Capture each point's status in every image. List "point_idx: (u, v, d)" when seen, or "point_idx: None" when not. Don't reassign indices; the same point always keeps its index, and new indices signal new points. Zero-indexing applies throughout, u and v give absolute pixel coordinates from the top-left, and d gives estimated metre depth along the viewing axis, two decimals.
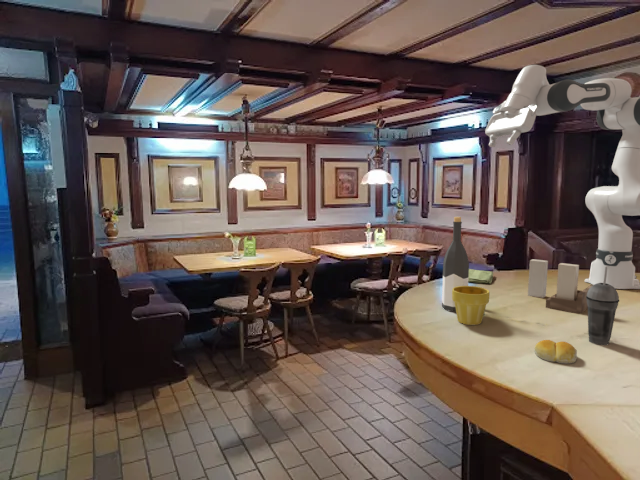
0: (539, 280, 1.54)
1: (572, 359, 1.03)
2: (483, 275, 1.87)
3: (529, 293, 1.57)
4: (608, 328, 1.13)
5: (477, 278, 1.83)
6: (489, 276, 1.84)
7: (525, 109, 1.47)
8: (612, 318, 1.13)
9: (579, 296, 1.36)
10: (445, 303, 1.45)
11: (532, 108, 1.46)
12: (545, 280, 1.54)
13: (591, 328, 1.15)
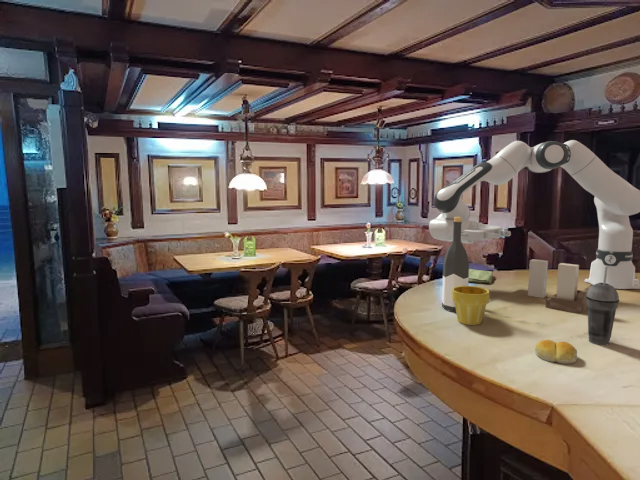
0: (539, 280, 1.54)
1: (572, 359, 1.03)
2: (483, 275, 1.87)
3: (529, 293, 1.57)
4: (608, 328, 1.13)
5: (477, 278, 1.83)
6: (489, 276, 1.85)
7: None
8: (612, 318, 1.13)
9: (579, 296, 1.36)
10: (445, 303, 1.45)
11: (462, 235, 1.65)
12: (545, 280, 1.54)
13: (591, 328, 1.15)
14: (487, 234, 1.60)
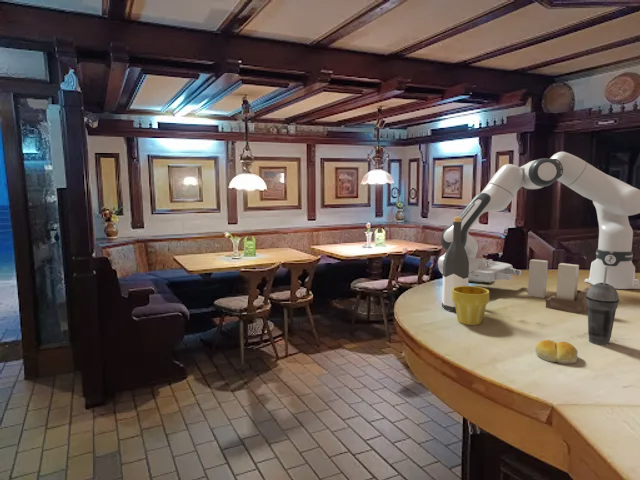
0: (539, 280, 1.54)
1: (573, 359, 1.03)
2: None
3: (529, 293, 1.57)
4: (608, 328, 1.13)
5: None
6: None
7: None
8: (612, 318, 1.13)
9: (579, 296, 1.36)
10: (445, 303, 1.45)
11: None
12: (545, 280, 1.54)
13: (591, 328, 1.15)
14: (498, 275, 1.59)
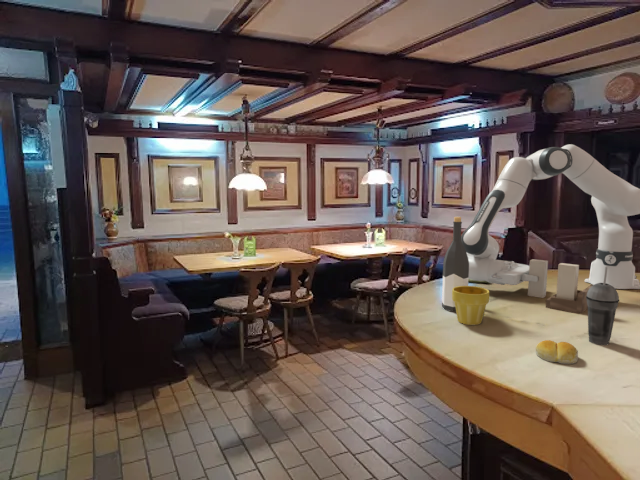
0: (539, 280, 1.54)
1: (573, 359, 1.02)
2: None
3: (529, 293, 1.57)
4: (608, 328, 1.13)
5: None
6: None
7: None
8: (612, 318, 1.13)
9: (579, 296, 1.36)
10: (445, 303, 1.45)
11: None
12: (545, 280, 1.54)
13: (591, 328, 1.15)
14: (525, 276, 1.55)
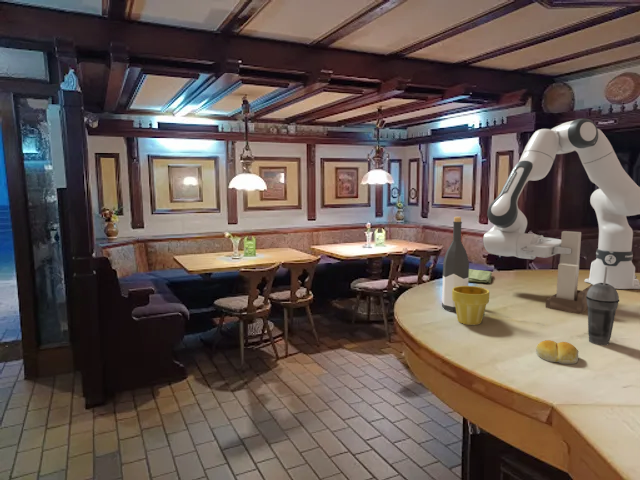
0: (572, 252, 1.47)
1: (574, 359, 1.02)
2: (482, 275, 1.87)
3: None
4: (608, 328, 1.13)
5: (476, 278, 1.84)
6: (488, 276, 1.85)
7: None
8: (612, 318, 1.13)
9: (579, 296, 1.36)
10: (445, 303, 1.45)
11: None
12: (578, 252, 1.47)
13: (591, 328, 1.15)
14: (557, 249, 1.47)
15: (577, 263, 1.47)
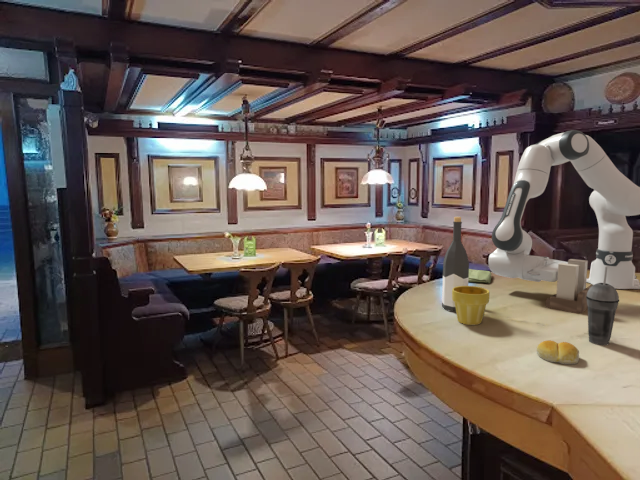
0: (578, 281, 1.46)
1: (575, 360, 1.02)
2: (482, 275, 1.87)
3: None
4: (608, 328, 1.13)
5: (476, 278, 1.84)
6: (488, 276, 1.85)
7: None
8: (612, 318, 1.13)
9: (579, 296, 1.36)
10: (445, 303, 1.45)
11: None
12: (585, 281, 1.46)
13: (591, 328, 1.15)
14: None
15: None
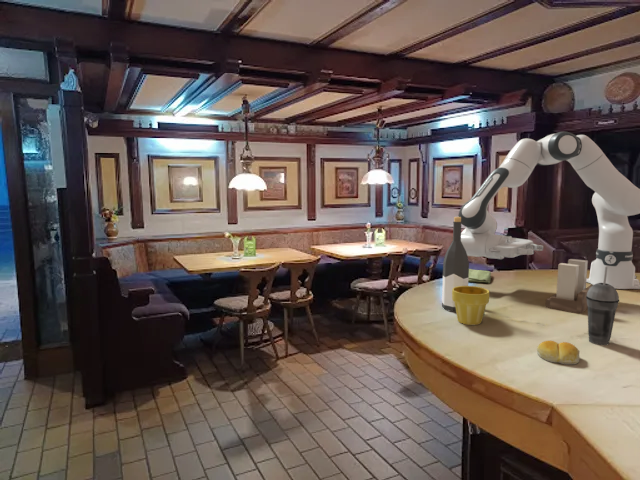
0: (578, 281, 1.46)
1: (575, 360, 1.02)
2: (481, 275, 1.87)
3: None
4: (608, 328, 1.13)
5: (476, 278, 1.84)
6: (487, 276, 1.85)
7: None
8: (612, 318, 1.13)
9: (579, 296, 1.36)
10: (445, 303, 1.45)
11: None
12: (585, 281, 1.46)
13: (591, 328, 1.15)
14: (520, 250, 1.53)
15: None
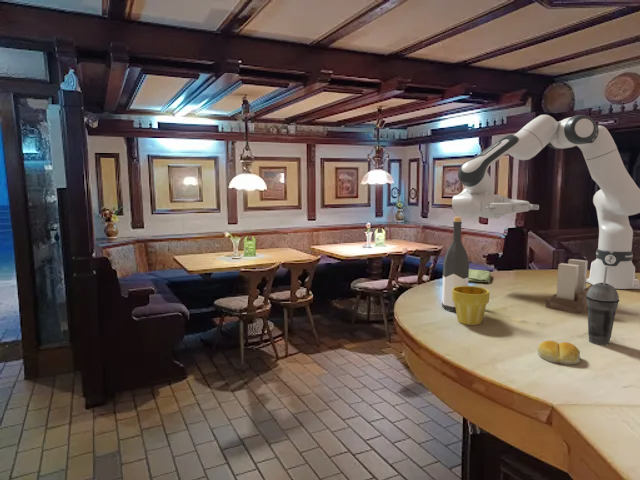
0: (578, 281, 1.46)
1: (576, 360, 1.02)
2: (481, 275, 1.88)
3: None
4: (608, 328, 1.13)
5: (476, 278, 1.84)
6: (487, 275, 1.85)
7: None
8: (612, 318, 1.13)
9: (579, 296, 1.36)
10: (445, 303, 1.45)
11: (488, 208, 1.58)
12: (585, 281, 1.46)
13: (591, 328, 1.15)
14: (515, 207, 1.53)
15: None
